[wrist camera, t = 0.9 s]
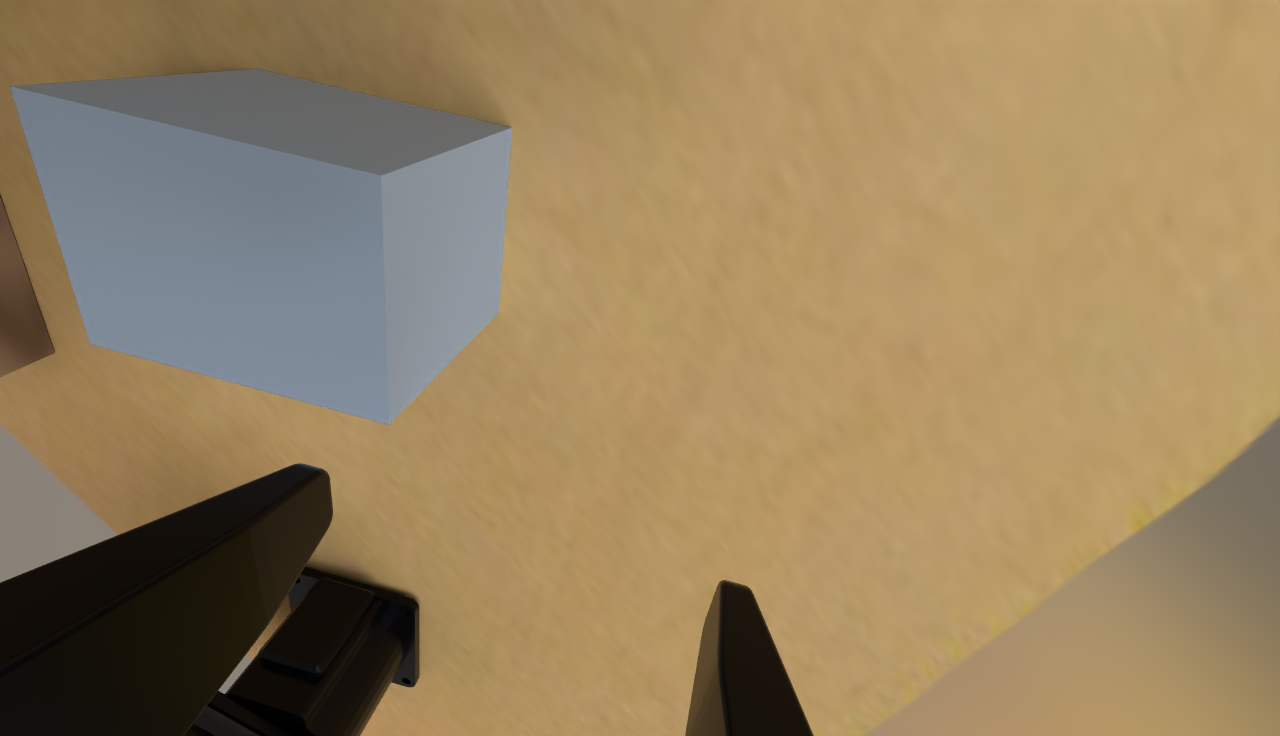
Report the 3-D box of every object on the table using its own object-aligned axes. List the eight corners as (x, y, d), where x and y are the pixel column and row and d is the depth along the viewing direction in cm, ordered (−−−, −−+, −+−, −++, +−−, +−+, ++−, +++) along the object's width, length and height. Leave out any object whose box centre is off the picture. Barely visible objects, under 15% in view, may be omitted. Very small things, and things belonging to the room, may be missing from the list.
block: (499, 311, 21) (389, 424, 15) (282, 256, 21) (90, 343, 15) (512, 127, 18) (381, 175, 12) (259, 68, 18) (9, 86, 12)
